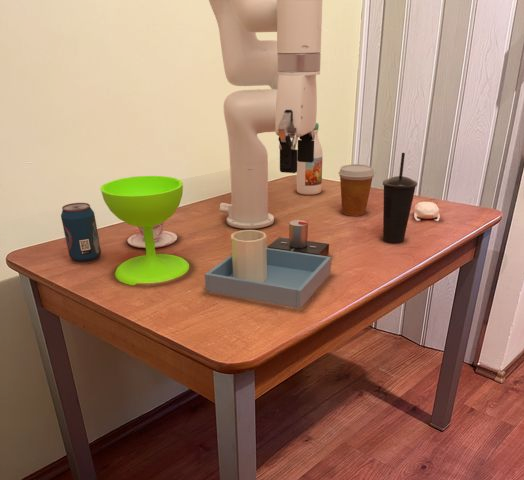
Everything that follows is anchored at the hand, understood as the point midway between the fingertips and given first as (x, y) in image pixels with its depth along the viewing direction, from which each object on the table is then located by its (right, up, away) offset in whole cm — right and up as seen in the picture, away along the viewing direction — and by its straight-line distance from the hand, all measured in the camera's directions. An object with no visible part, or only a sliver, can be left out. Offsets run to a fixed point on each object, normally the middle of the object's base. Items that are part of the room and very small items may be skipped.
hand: (297, 166), depth 102 cm
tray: (-5, -22, +6) cm, 23 cm away
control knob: (+1, -12, +16) cm, 20 cm away
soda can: (-46, -14, +19) cm, 52 cm away
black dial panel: (+1, -14, +18) cm, 23 cm away
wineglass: (-30, -18, +13) cm, 37 cm away
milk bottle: (+8, +14, +66) cm, 68 cm away
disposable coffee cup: (+19, +3, +46) cm, 50 cm away
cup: (-9, -20, +7) cm, 23 cm away
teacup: (-33, -8, +29) cm, 45 cm away
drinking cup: (+25, -9, +27) cm, 38 cm away
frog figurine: (+37, +1, +42) cm, 56 cm away
